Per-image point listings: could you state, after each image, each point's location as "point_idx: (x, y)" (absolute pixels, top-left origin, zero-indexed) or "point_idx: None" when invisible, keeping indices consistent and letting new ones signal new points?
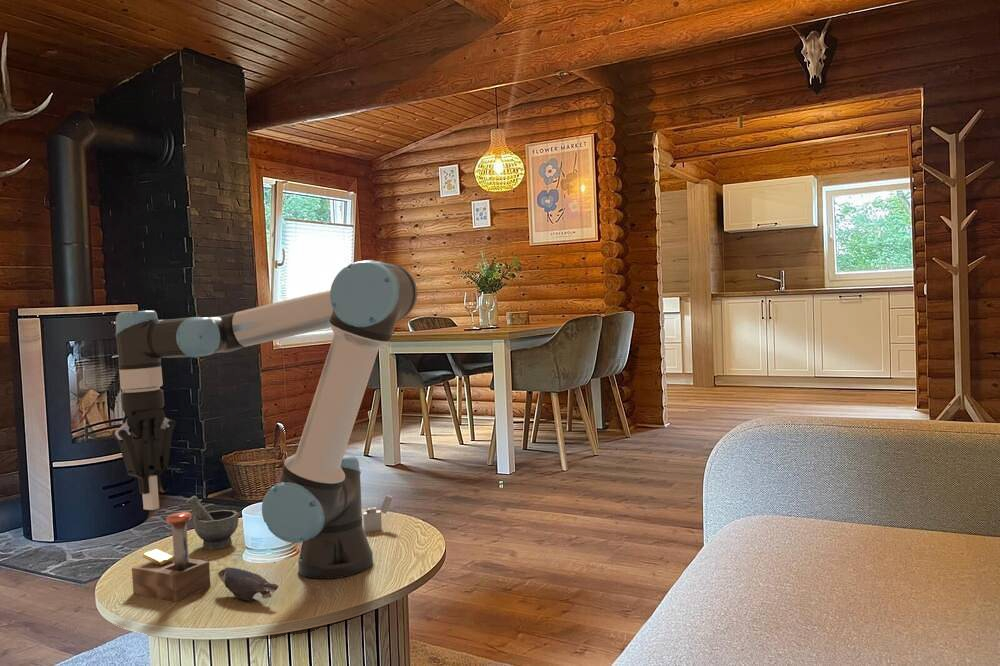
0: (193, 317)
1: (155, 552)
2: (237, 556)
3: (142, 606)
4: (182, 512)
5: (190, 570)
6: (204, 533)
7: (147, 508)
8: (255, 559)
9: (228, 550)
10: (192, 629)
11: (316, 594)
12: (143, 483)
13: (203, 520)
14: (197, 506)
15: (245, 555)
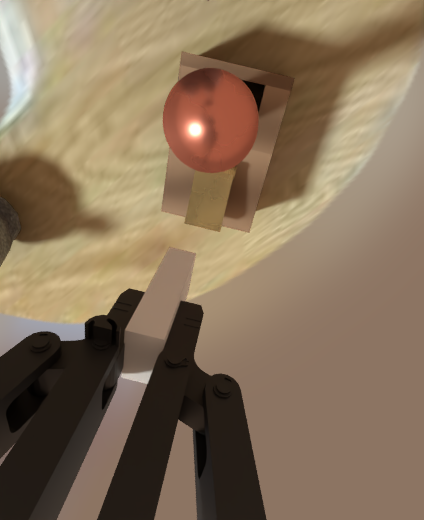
0: None
1: (200, 213)
2: (23, 127)
3: (315, 145)
4: (169, 139)
5: (245, 66)
6: (5, 233)
7: (190, 278)
8: (18, 63)
9: (6, 174)
10: None
11: None
12: (196, 339)
13: None
14: None
15: (10, 111)
